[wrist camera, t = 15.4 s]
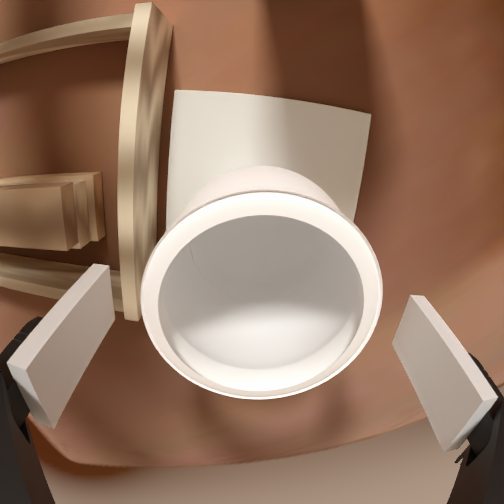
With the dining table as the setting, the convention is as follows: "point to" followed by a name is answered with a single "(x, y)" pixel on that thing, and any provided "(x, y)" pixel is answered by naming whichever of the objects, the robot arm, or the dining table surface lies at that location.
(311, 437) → the dining table surface
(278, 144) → the mat
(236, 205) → the jar
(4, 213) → the offcut stack
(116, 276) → the rack
